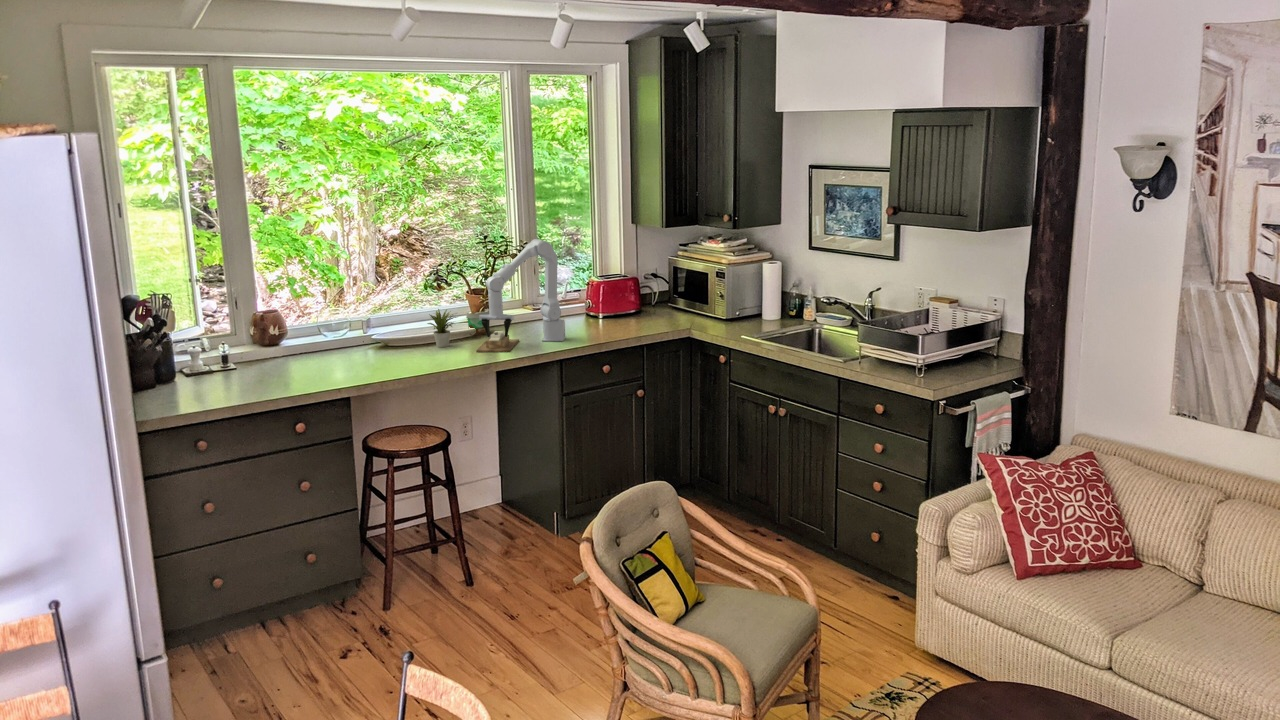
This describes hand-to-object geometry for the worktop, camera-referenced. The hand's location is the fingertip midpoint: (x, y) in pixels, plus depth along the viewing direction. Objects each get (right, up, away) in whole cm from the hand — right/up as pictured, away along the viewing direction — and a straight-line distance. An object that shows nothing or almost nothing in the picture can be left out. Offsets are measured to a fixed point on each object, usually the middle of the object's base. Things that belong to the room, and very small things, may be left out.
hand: (497, 336), depth 426 cm
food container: (-11, +2, +26) cm, 29 cm away
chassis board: (0, -4, +1) cm, 4 cm away
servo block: (0, -4, +1) cm, 4 cm away
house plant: (-24, -4, +3) cm, 24 cm away
